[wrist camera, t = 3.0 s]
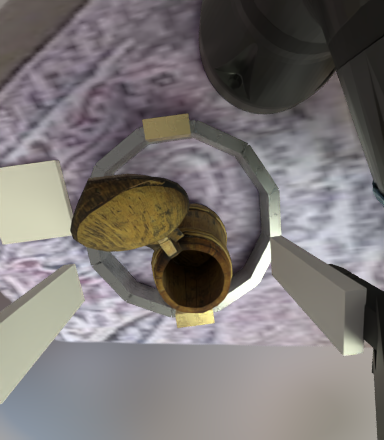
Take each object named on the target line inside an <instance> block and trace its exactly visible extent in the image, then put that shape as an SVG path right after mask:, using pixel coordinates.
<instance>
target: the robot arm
mask: <svg viewBox="0 0 384 440" xmlns="http://www.w3.org/2000/svg"><path fill="white" fill-rule="evenodd" d="M199 49H200V55H201V60H202V63H203V66H204V69H205V72H206V74H207V76H208V78H209V80H210V82H211V83H212V85H213V86H214V88H215V89H216V90H217V92H218V93H219V94H220V95H221V96H222V97H223V98H224V99H225V100H227V101H228V102H229V103H231V104H232V105H234V106H235V107H237V108H239V109H242V110H244V111H247V112H251V113H256V114H273V113H278V112H282V111H285V110H287V109H290V108H292V107H294V106H296V105H297V104H299V103H301V102H302V101H304V100H305V99H307V98H308V97H310V96H311V95H313V94H314V93H315V92H317V91H318V90H319V89H320V88H321V87H322V86H323V85H324V84H325V83H326V82H327V81H328V80H329V79H330V77H331V76H332V75H333V74H334V72H335V71H337V75H338V78H339V81H340V84H341V86H342V89H343V92H344V95H345V98H346V101H347V104H348V107H349V110H350V113H351V116H352V119H353V122H354V125H355V128H356V130H357V133H358V136H359V139H360V142H361V145H362V148H363V151H364V154H365V157H366V160H367V163H368V166H369V169H370V172H371V175H372V177H373V183H372V184H373V193H374V195H375V197H376V198H377V200H378V201H379V202H380V203H381V204H383V207H384V0H203V2H202V7H201V14H200V24H199ZM270 248H271V266H272V275H273V277H274V278H275V279H276V280H277V281H278V282H279V283H280V284H281V286H282V287H283V288H284V289H285V290H286V291H287V292H288V294H289V295H290V296H291V297H292V298H293V299H294V300H295V302H296V303H297V304H298V305H299V306H300V307H301V308H302V309H303V311H304V312H305V313H306V314H307V315H308V316H309V317H310V319H311V320H312V321H313V322H314V323H315V324H316V325H317V326H318V328H319V329H320V330H321V331H322V332H323V333H324V334H325V336H326V337H327V338H328V339H329V340H330V341H331V342H332V344H333V345H334V346H335V347H336V348H337V349H338V350H339V351H340V352H341V354H342V355H343V356H347V355H354V354H361V353H363V348H364V340H365V341H366V342H368V343H369V344H370V345H371V346H372V347H373V361H372V373H374V385H375V403H376V421H377V438H378V440H384V291H382V290H380V289H378V288H377V287H375V286H373V285H371V284H370V283H368V282H366V281H365V280H363V279H361V278H359V277H358V276H356V275H354V274H352V273H351V272H349V271H347V270H346V269H344V268H342V267H339V266H336V265H333V264H326V263H325V262H323V261H321V260H320V259H318V258H317V257H315V256H313V255H312V254H310V253H309V252H307V251H305V250H304V249H302V248H300V247H299V246H297V245H296V244H294V243H292V242H291V241H289V240H288V239H286V238H284V237H283V236H275V237H270ZM84 301H85V299H84V296H83V292H82V288H81V285H80V281H79V277H78V274H77V270H76V266H75V264H70V265H63V266H62V267H61V268H59V269H58V270H57V271H55V272H54V273H52V274H51V275H50V276H48V277H47V278H46V279H44V280H43V281H42V282H40V283H39V284H37V285H36V286H35V287H33V288H32V289H31V290H29V291H28V292H27V293H25V294H24V295H23V296H21V297H20V298H18V299H17V300H16V301H14V302H13V303H12V304H10V305H9V306H8V307H6V308H5V309H4V310H2V311H1V312H0V404H2V403H3V402H4V400H5V399H6V398H7V397H8V396H9V394H10V393H11V392H12V391H13V389H14V388H15V387H16V385H17V384H18V383H19V382H20V381H21V379H22V378H23V377H24V376H25V374H26V373H27V372H28V371H29V369H30V368H31V367H32V366H33V364H34V363H35V362H36V361H37V360H38V358H39V357H40V356H41V355H42V353H43V352H44V351H45V349H46V348H47V347H48V346H49V345H50V343H51V342H52V341H53V340H54V338H55V337H56V336H57V335H58V333H59V332H60V331H61V330H62V328H63V327H64V326H65V325H66V323H67V322H68V321H69V320H70V318H71V317H72V316H73V315H74V313H75V312H76V311H77V310H78V308H79V307H80V306H81V305H82V303H83V302H84Z"/></svg>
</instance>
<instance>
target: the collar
mask: <svg viewBox="0 0 384 440" xmlns="http://www.w3.org/2000/svg"><path fill="white" fill-rule="evenodd" d="M142 122H143V127H140V128H139V130H138V129H136V130H135V131H134V132H132V133H131V134H130V135H129V136H128V137H127V138H125V139H124V140H123V141H122V142H121V143H119V144H118V145H117V146H116V147H115V148H114V149H112V150H111V151H110V152H109V153H108V154H107V155H105V156H104V157H103V158H102V159H101V160H99V161H98V162H97V163H96V165H97V166H94V168H93V171H92V175H91V178H94V177H104V176H113V175H114V173H115V172H116V171H117V170H118V169H120V168H121V167H122V166H123V165H124V164H126V163H127V162H128V161H129V160H130V159H132V158H133V157H134V156H135V155H136V154H138V153H139V152H140V151H141V150H142V149H144V148H145V147H146V146H147V145H148V144H155V143H162V142H169V141H177V140H184V139H191V138H194V139H197V140H199V141H201V142H203V143H206V144H208V145H210V146H212V147H215V148H217V149H219V150H221V151H224V152H226V153H228V154H230V155H233V156H235V158H236V159H237V161H238V162H239V163H240V165H241V166H242V168H243V169H244V171H245V172H246V174H247V175H248V177H249V178H250V179H251V181H252V182H253V184H254V185H255V187H256V188H257V190H258V191H259V201H260V217H261V234H260V236H259V238H258V240H257V242H256V244H255V246H254V248H253V250H252V252H251V254H250V256H249V258H248V260H247V262H246V265H245V267H244V268H243V269H241V270H240V271H238V272H237V273H236V274H234V275H233V276H232V278H231V281H230V288H229V292H228V294H227V296H226V298H225V299H224V300H223V301H222V302H221V303H220V304H219V305H218V306H216V307H214V308H213V309H211V310H209V311H206V312H204V313H186V312H181V311H178V310H175V309H173V308H172V307H171V306H170V305H168V304H167V303H166V302H165V301H164V299H163V298H162V296H161V295H160V293H159V291H158V289H156V288H153V287H150V286H147V285H145V284H142V283H139V282H137V281H136V280H135V279H134V278H133V277H132V276H131V274H130V273H129V272H128V271H127V270H126V269H125V268H124V267H123V266H122V265H121V264H120V262H119V261H118V260H117V259H116V258H115V257H114V256H113V255H112V254H111V253H110V252H106V251H100V250H95V249H91V248H87V251H88V255H89V259H90V263H91V265H93V266H92V267H93V268H94V269H95V271H96V272H97V273H98V274H99V275H100V276H101V277H102V278H103V279H104V280H105V281H106V282H107V283H108V284H109V285H110V286H111V287H112V288H113V289H114V290H115V291H116V292H117V294H118V295H119V296H120V297H121V298H122V299H123V300H124V301H126V300H127V303H130V304H133V305H136V306H139V307H142V308H145V309H148V310H150V311H153V312H156V313H159V314H162V315H165V316H168V317H171V315H172V318H173V317H176V322H177V328H181V327H188V326H196V325H203V324H211V323H214V316H213V312H218V310H219V311H220V310H222V309H223V308H225V307H226V306H227V305H229V304H230V303H232V302H233V301H235V300H236V299H238V298H239V297H241V296H242V295H244V294H245V293H247V292H248V291H249V290H251V289H252V288H254V287H255V286H257V285H258V284H257V283H259V282H260V281H261V279H262V277H263V275H264V273H265V271H266V269H267V267H268V265H269V263H270V261H271V248H270V237H275V236H281V221H280V196H279V190H278V189H279V188H278V187H277V185H276V184H275V182H274V181H273V179H272V178H271V176H270V175H269V173H268V172H267V170H266V169H265V167H264V166H263V164H262V163H261V161H260V160H259V158H258V157H257V155H256V154H255V152H254V151H253V149H252V148H251V146H250V145H248V146H247V144H248V143H246V142H244V141H242V140H240V139H237V138H235V137H233V136H231V135H229V134H226V133H224V132H222V131H220V130H218V129H215V128H213V127H211V126H209V125H207V124H204V123H202V122H200V121H198V120H197V122H195V120H191V121H189V116H188V114H180V115H173V116H166V117H158V118H151V119H143V120H142Z"/></svg>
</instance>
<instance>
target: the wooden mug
mask: <svg viewBox="0 0 384 440" xmlns="http://www.w3.org/2000/svg"><path fill="white" fill-rule="evenodd" d="M70 231H71V234H72V237H73V239H74V240H76V241H78V242H79V243H81V244H82V245H84V246H85V247H87V248H91V249H95V250H100V251H106V252H113V251H125V250H131V249H135V248H139V247H142V246H147V247H150V248H152V249H153V250H154V253H153V257H152V262H151V265H152V271H153V277H154V280H155V284H156V287H157V289H158V291H159V293H160V295H161V296H162V298H163V299H164V301H165V302H166V303H167V304H168V305H170V306H171V307H172V308H173V309H175V310H178V311H181V312H186V313H204V312H206V311H209V310H211V309H213V308H214V307H216V306H218V305H219V304H220V303H221V302H222V301H223V300H224V299H225V298H226V296H227V294H228V292H229V288H230V281H231V278H232V262H231V258H230V255H229V252H228V250H227V247H226V245H227V233H226V230H225V227H224V224H223V223H222V221H221V220H220V218H219V217H218V216H217V214H216V213H215V212H213V211H212V210H210V209H209V208H207V207H206V206H203V205H200V204H197V203H194V204H189V199H188V196H187V193H186V192H185V190H184V189H183V188H182V187H181V186H180V185H179V184H177V183H175V182H173V181H170V180H168V179H165V178H158V177H151V176H146V175H137V174H121V175H113V176H104V177H94V178H89V179H88V181H87V183H86V186H85V188H84V190H83V192H82V195H81V197H80V199H79V201H78V204H77V206H76V209H75V212H74V215H73V218H72V222H71V228H70Z"/></svg>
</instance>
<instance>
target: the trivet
mask: <svg viewBox="0 0 384 440" xmlns="http://www.w3.org/2000/svg"><path fill="white" fill-rule="evenodd" d="M72 218H73V213H72V209H71V205H70V201H69V197H68V193H67V190H66V186H65V182H64V178H63V174H62V170H61V167H60V163H59V161H57V160H53V161H46V162H38V163H31V164H24V165H16V166H9V167H2V168H0V238H1V240H2V243H3V245H4V244H11V243H19V242H26V241H33V240H41V239H48V238H56V237H63V236H71V235H72V234H71V231H70V228H71V222H72Z"/></svg>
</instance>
